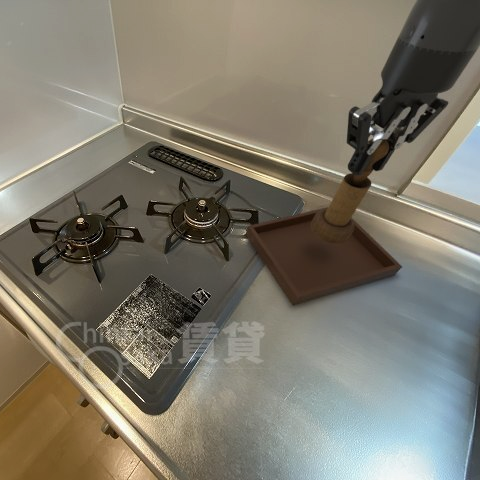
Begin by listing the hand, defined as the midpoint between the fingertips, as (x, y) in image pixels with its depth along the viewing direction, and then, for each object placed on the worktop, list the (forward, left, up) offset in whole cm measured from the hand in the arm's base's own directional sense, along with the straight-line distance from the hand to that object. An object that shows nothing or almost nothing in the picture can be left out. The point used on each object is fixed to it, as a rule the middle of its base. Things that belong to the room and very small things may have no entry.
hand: (364, 169), depth 47 cm
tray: (0, 0, -20) cm, 20 cm away
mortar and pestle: (0, 0, -13) cm, 13 cm away
